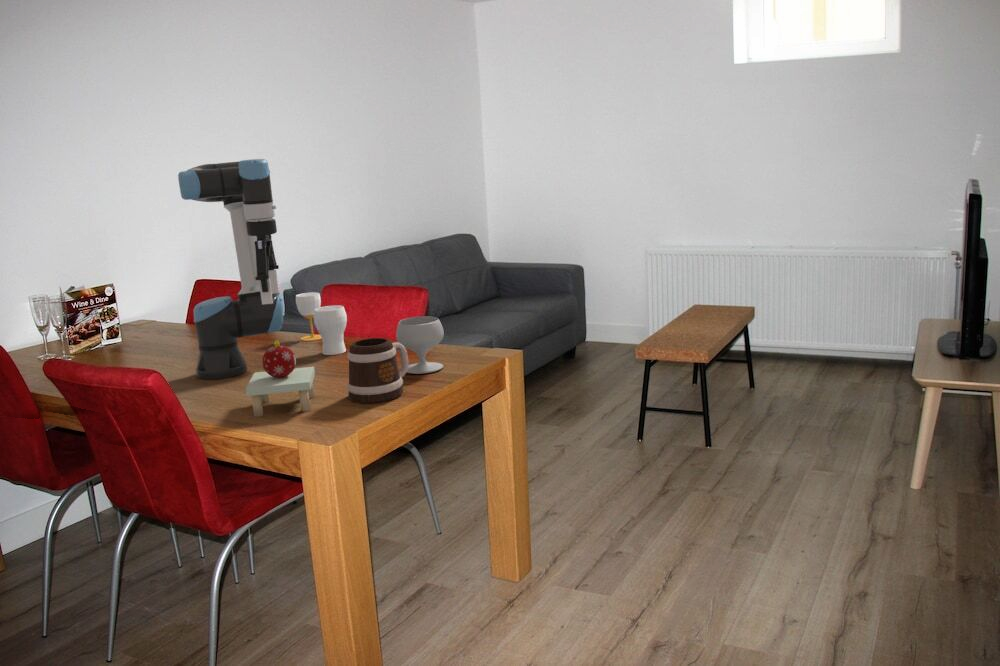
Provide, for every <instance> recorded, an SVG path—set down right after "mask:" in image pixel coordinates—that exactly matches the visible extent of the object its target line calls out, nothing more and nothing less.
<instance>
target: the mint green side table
mask: <svg viewBox="0 0 1000 666" xmlns="http://www.w3.org/2000/svg"><path fill="white" fill-rule="evenodd" d="M315 375H316V371H315V366H307V367H306V366H305V367H297V368H296V367H295V368H294V370H293V371H292V373H290V374H289V375H288V376H286V377H282V378H276V377H272V376H270V375H269V374H268V373H267V372H266V371H265V370H264V371H256V372H254V373H253V374H252V377H251V378H250V380H249V382H248V384H247V385H246V388H245V393H246V394H245V395H246V397H251V403H252V412H253V416H254V418H255V417H256V418H259V417H263V416H264V407H263V404H268V403H269V402H270V395H271V394H283V393H291V392H298V395H299V402H300V404H299V405H300V411H301V412H303V413H305V412H310V411H311V402H310V399H312V398H314V397H315V394H314V393H315V392H314V385H313V383H314V382H313V381H314V379H315ZM262 415H263V416H262Z"/></svg>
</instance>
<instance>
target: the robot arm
mask: <svg viewBox="0 0 1000 666" xmlns="http://www.w3.org/2000/svg"><path fill="white" fill-rule="evenodd" d="M269 166H270V165H269V162H268V160H267V159H265V158H254V159H253V158H252V159H243V160H239V161H232V162H231V161H229V162H218V163H207V164H201V165H197V166H194V167H192V168H189V169H186V170H183V171H179V173H178V174H177V177H178V186H179V192H180V196H181V198H182V200H185V201H187V200H191V201H198V202H201V203H204V202H205V203H221V202H222V203H223V208H224V209H225V210H227V211H228V212H229V215H230V220H231V227H232V234H233V241H234V245H235V253H236V258H237V267H238V271H239V272H238V273H239V278H240V279H239V280H240V284H241V289H240V290H239V291H238V293H237V298H238V299H236V300H233V298H232V297H231V296H228V295H227V296H220V297H219V296H218V297H215V298H214V297H213V298H211V299H207V300H204V301H201V302H199V303H198V304H195V306H194V308H193V318H194V319H193V322H194V324H195V332H196V339H197V345H198V346H197V347H198V357H197V363H196V368H195V371H196V377H197V378H198V379H200V378H201V379H202V380H218V379H219V380H220V379H226V378H232V377H234V376H239V375H241V374H244V373H245V372H247V370H248V365H247V361H246V359H245V357H244V355H243V354H242V350H241V349H240V347H239V344H238V338H245V337H251V336H258V335H268V334H271V333H276V332H279V331H280V330H281V329H282V328H283V324H284V305H283V302H284V301H283V297H282V295H281V294H279V293H280V290H279V281H278V274H277V270H279V267H280V266H279V264H277V260H276V256H275V249H274V246H273V241H272V235H275V234H276V233H277V231H278V230H277V229H278V228H277V223H276V219H275V210H276V209H277V206H276V205H274V200H273V194H272V192H273V191H272V185H271V184H272V183H271V175H270V174H271V170H270V168H269Z"/></svg>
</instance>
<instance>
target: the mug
mask: <svg viewBox="0 0 1000 666" xmlns="http://www.w3.org/2000/svg"><path fill="white" fill-rule="evenodd" d="M397 351H398V352H399V354H400V356H399V357H400V364H401V367H400V370H399V366H398V362H397V357H396V355H397ZM346 358H347V359H348V382H347V385H346V389H347V391H348V398H349V399H350V400H351V401H352V402H354V401H355V403H357V402H358V404H377V403H376V402H379V403H383V402H384V401H385V402H388V401H393V400H395V399H397V398H398V397H400V396H401V395H402V394H403V392H404V387H403V384H404V379H403V377H405V375H406V374H407V373H406V372H407V370H408V365H409V356H408V351H407V348H405V347H404V346H403V345H402V344H400V343H399V342H398V341H396V342H392V341H391V340H390V339H388V338H385V337H384V338H383V337H371V338H365V339H360V340H356V341H354V342H352V343H351V344H350V346H349V349H348V351H347V355H346Z"/></svg>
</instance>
